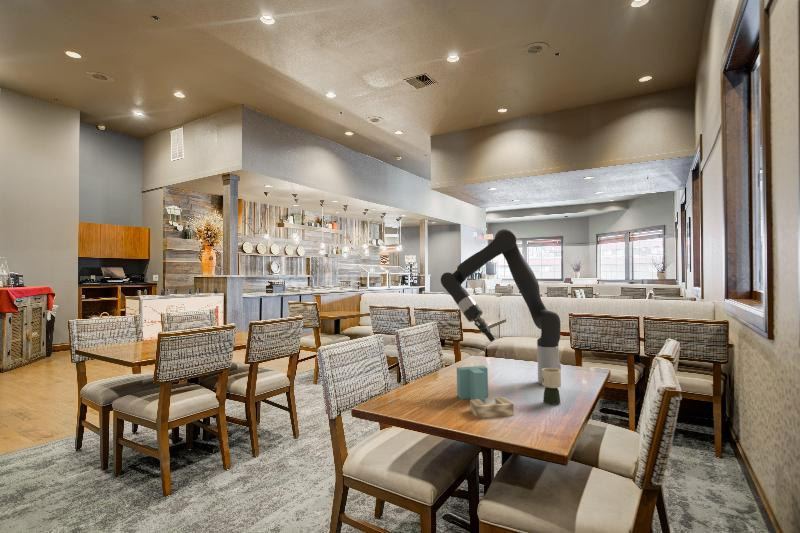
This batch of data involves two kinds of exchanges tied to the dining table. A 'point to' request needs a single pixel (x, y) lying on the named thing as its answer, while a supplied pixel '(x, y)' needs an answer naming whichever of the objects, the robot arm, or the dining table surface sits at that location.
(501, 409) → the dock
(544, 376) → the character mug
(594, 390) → the dining table surface
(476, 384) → the t block
